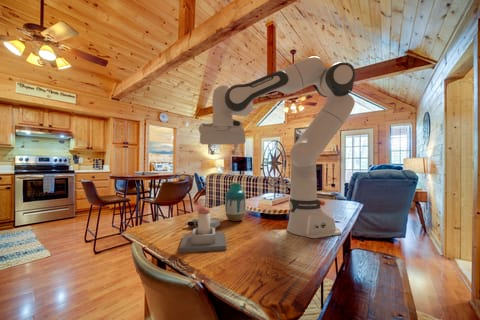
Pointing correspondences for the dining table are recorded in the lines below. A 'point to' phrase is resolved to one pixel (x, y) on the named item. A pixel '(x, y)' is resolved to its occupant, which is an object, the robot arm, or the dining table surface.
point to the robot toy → (213, 222)
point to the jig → (203, 241)
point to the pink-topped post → (203, 221)
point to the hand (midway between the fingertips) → (223, 154)
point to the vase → (235, 202)
